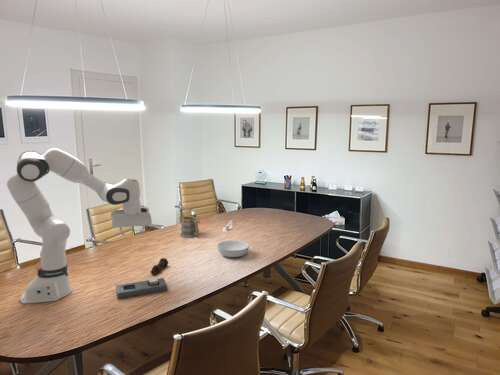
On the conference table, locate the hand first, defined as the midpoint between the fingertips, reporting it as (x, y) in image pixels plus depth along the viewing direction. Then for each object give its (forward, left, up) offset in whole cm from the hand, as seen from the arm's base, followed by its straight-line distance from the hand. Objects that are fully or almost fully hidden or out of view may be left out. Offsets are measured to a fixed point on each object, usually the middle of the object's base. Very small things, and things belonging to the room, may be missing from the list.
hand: (132, 234), depth 197 cm
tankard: (+49, +69, -26) cm, 88 cm away
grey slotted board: (+2, -15, -26) cm, 30 cm away
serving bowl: (+64, +18, -26) cm, 71 cm away
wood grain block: (+8, -15, -26) cm, 31 cm away
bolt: (+14, +9, -27) cm, 32 cm away
